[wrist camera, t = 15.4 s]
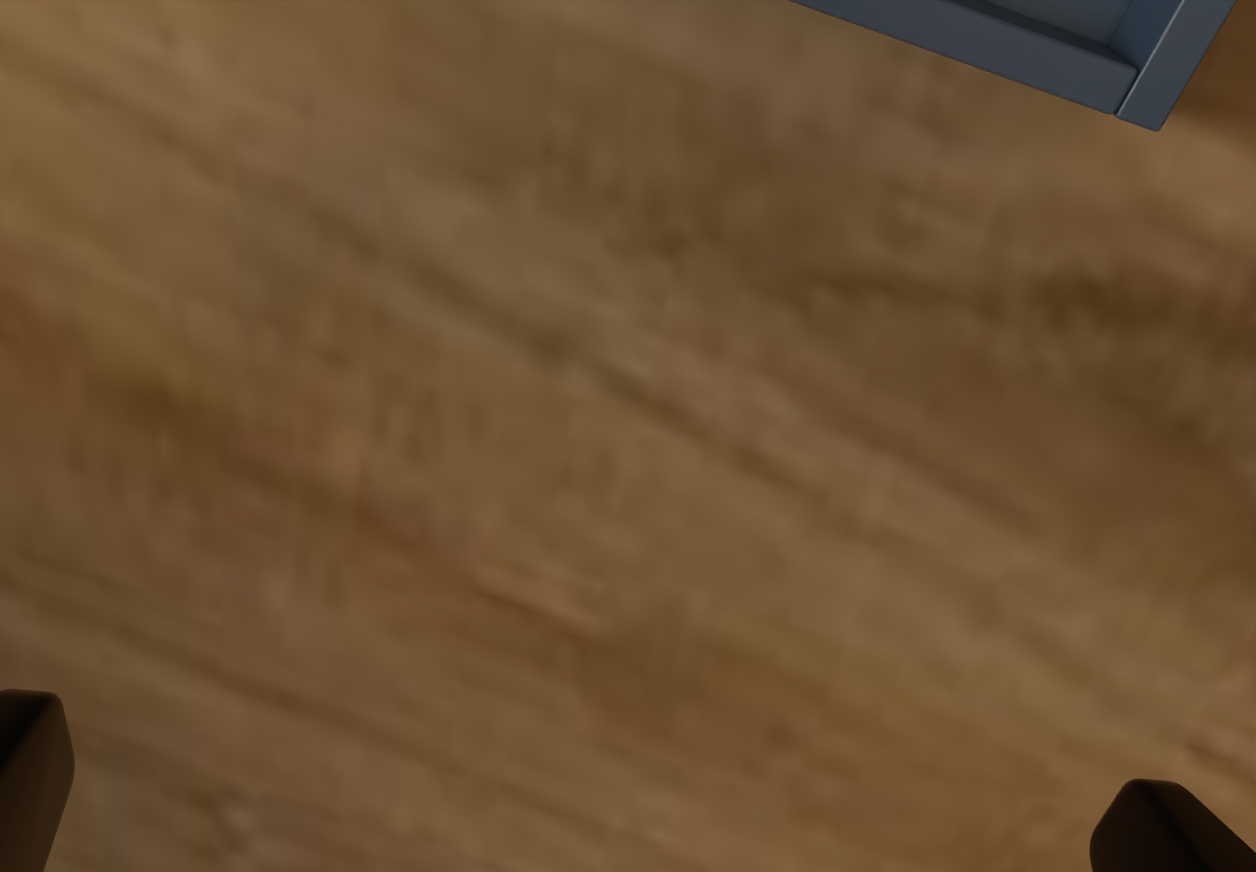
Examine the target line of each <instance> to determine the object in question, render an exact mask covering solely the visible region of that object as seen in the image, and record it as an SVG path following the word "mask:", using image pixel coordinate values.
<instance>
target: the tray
mask: <svg viewBox="0 0 1256 872" xmlns="http://www.w3.org/2000/svg"><path fill="white" fill-rule="evenodd" d="M789 1H792V2H794V3H797V4H800V5H803V6H806V7H808V8H811V9H814V10H817V11H820V12H822V13H825V14H828V15H831V16H834V17H836V18H839V19H842V20H845V21H848V22H850V23H853V24H856V25H859V26H862V27H864V28H867V29H870V30H873V31H876V32H878V33H881V34H884V35H887V36H890V37H892V38H895V39H898V40H901V41H904V42H907V43H909V44H912V45H915V46H918V47H921V48H923V49H926V50H929V51H932V52H935V53H937V54H940V55H943V56H946V57H949V58H951V59H954V60H957V61H960V62H963V63H965V64H968V65H971V66H974V67H977V68H979V69H982V70H985V71H988V72H991V73H993V74H996V75H999V76H1002V77H1005V78H1007V79H1010V80H1013V81H1016V82H1019V83H1021V84H1024V85H1027V86H1030V87H1033V88H1035V89H1038V90H1041V91H1044V92H1047V93H1049V94H1052V95H1055V96H1058V97H1061V98H1064V99H1066V100H1069V101H1072V102H1075V103H1078V104H1080V105H1083V106H1086V107H1089V108H1092V109H1094V110H1097V111H1100V112H1103V113H1106V114H1113V115H1114V116H1115V117H1117V118H1118V119H1121V120H1124V121H1127V122H1130V123H1132V124H1135V125H1138V126H1141V127H1144V128H1146V129H1149V130H1152V131H1155V132H1156V131H1159V130H1160V129H1161V127H1162V126H1163V124H1164V122H1165V121H1166V119H1167V117H1168V116H1169V114H1170V112H1171V110H1172V109H1173V107H1174V105H1175V104H1176V102H1177V100H1178V99H1179V97H1180V95H1181V94H1182V92H1183V90H1184V89H1185V87H1186V85H1187V84H1188V82H1189V80H1190V79H1191V77H1192V75H1193V74H1194V72H1195V70H1196V69H1197V67H1198V65H1199V63H1200V62H1201V60H1202V58H1203V57H1204V55H1205V53H1206V52H1207V50H1208V48H1209V47H1210V45H1211V43H1212V42H1213V40H1214V38H1215V37H1216V35H1217V33H1218V32H1219V30H1220V28H1221V27H1222V25H1223V23H1224V22H1225V20H1226V18H1227V17H1228V15H1229V13H1230V11H1231V10H1232V8H1233V6H1234V5H1235V3H1236V1H1237V0H789Z"/></svg>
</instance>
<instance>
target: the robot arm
mask: <svg viewBox="0 0 1256 872" xmlns="http://www.w3.org/2000/svg"><path fill="white" fill-rule="evenodd" d="M74 769H75V759H74V753H73V748H72V744H71V739H70V735H69V730H68V726H67V722H66V717H65V713H64V708H63V705H62V702H61V699H60V698H59V697H58V696H57V695H56V694H54V693H51V692H44V691H32V690H19V689H6V690H3V691H0V872H43V871H44V868H45V865H46V862H47V859H48V856H49V853H50V850H51V847H52V844H53V841H54V838H55V835H56V832H57V829H58V826H59V823H60V820H61V817H62V814H63V811H64V808H65V805H66V802H67V799H68V795H69V792H70V789H71V786H72V782H73V777H74ZM1090 860H1091V866H1092V871H1093V872H1256V853H1255V852H1254V851H1253V850H1252V849H1251V848H1250V847H1249V846H1248V845H1247V844H1246V843H1245V842H1244V841H1242V840H1241V839H1240V838H1239V837H1238V836H1237V835H1236V834H1235V833H1234V832H1233V831H1232V830H1231V829H1229V828H1228V827H1227V826H1226V825H1225V824H1224V823H1223V822H1222V821H1221V820H1220V819H1219V818H1218V817H1216V816H1215V815H1214V814H1213V813H1212V812H1211V811H1210V810H1209V809H1208V808H1207V807H1206V806H1204V805H1203V804H1202V803H1201V802H1200V801H1199V800H1198V799H1197V798H1196V797H1195V796H1194V795H1193V794H1191V793H1190V792H1189V791H1188V790H1187V789H1185V788H1184V787H1183V786H1181V785H1179V784H1177V783H1175V782H1170V781H1162V780H1150V779H1133V780H1131V781H1128V782H1127V783H1126V784H1125V785H1124V786H1123V787H1122V788H1121V790H1120V791H1119V793H1118V794H1117V796H1116V797H1115V799H1114V800H1113V802H1112V803H1111V805H1110V806H1109V808H1108V809H1107V811H1106V812H1105V814H1104V815H1103V817H1102V818H1101V820H1100V821H1099V823H1098V824H1097V826H1096V827H1095V829H1094V831H1093V833H1092V837H1091V841H1090Z"/></svg>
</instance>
